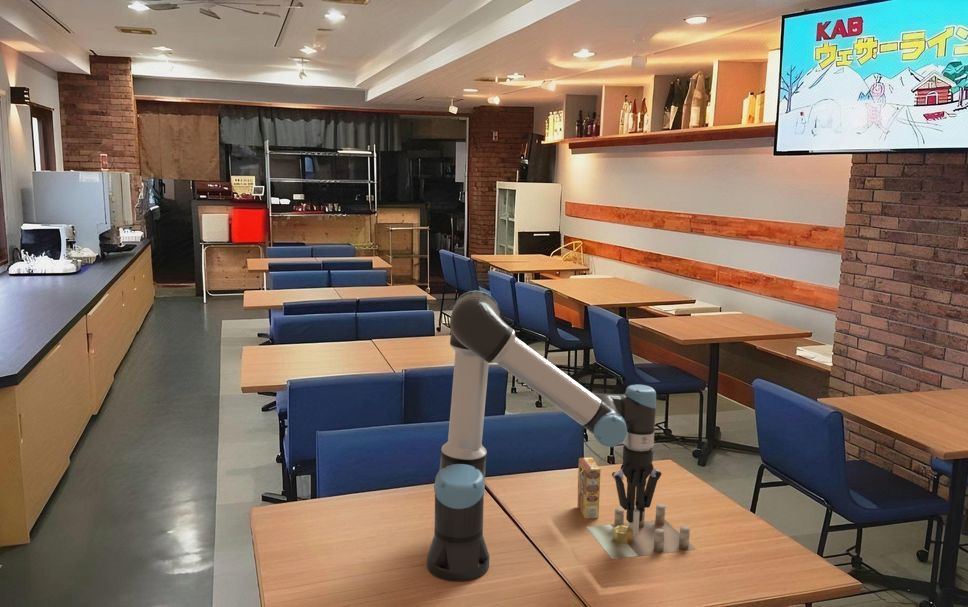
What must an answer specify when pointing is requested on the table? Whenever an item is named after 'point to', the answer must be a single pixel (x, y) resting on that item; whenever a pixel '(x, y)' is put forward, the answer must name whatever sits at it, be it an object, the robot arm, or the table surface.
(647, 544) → the board
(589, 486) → the candy box
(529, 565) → the table surface
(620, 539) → the wooden star polyhedron
